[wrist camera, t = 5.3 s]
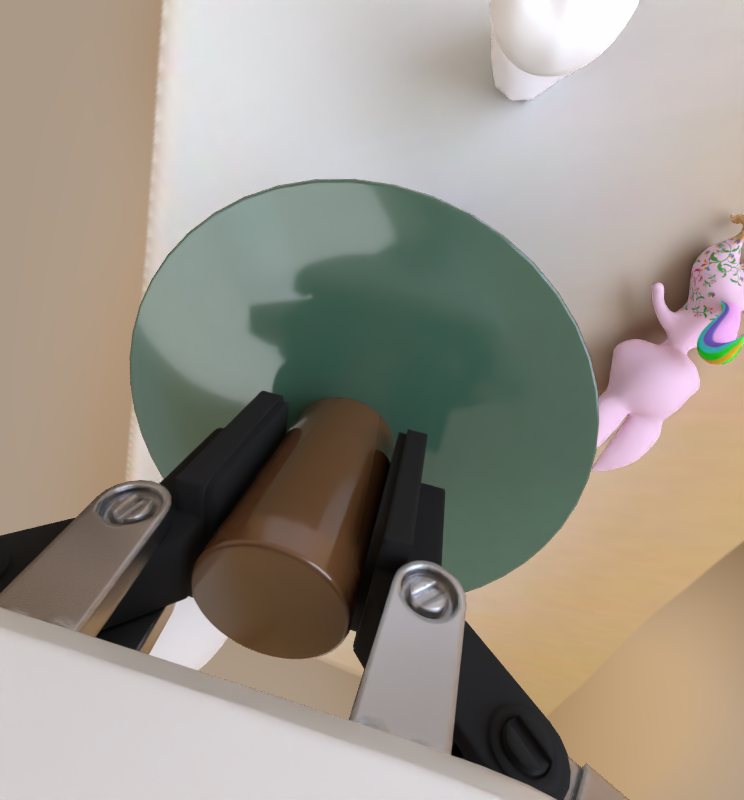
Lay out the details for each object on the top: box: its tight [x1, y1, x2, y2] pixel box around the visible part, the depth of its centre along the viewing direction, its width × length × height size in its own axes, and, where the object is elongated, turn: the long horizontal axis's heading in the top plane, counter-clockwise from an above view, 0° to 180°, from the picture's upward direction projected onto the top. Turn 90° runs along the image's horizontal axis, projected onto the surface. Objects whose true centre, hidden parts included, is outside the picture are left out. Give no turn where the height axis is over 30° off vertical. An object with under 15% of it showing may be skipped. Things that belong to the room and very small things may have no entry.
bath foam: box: [149, 596, 228, 670], centre depth 25 cm, size 7×7×20 cm
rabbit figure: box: [592, 212, 744, 471], centre depth 22 cm, size 6×6×15 cm
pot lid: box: [130, 179, 599, 660], centre depth 10 cm, size 14×14×7 cm
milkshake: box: [489, 0, 640, 101], centre depth 16 cm, size 4×5×10 cm
